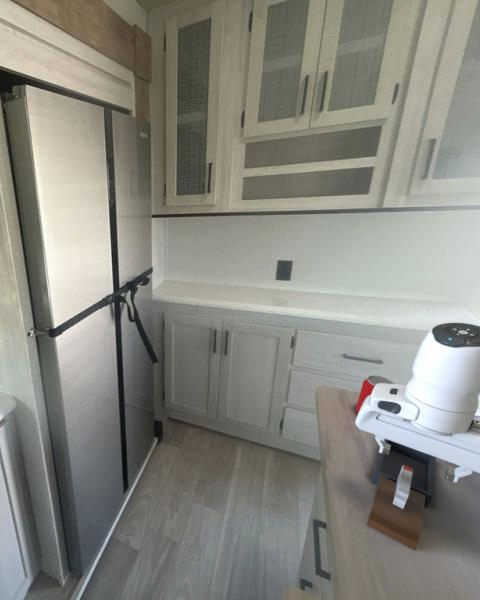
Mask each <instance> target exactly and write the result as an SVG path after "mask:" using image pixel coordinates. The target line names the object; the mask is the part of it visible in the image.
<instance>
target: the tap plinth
mask: <svg viewBox="0 0 480 600" xmlns="http://www.w3.org/2000/svg"><path fill="white" fill-rule="evenodd" d="M396 485H397V483H396V482H394V481H391V480H389V479H387V478H385V477H382V476H380V478H379V481H378V484H377V485H376V487H375V490H374V494H373V498H372V502H371V506H370V508H369V509H370V510H369V512H368V513H369V514H368V518H367V521H366V525H367V526H369V527H370V528H372V529H374V530H376V531H378V532H380V533H381V534H384V535H386V536H387V537H389V538H392V539H393V540H395V541H397V542H398V543H401V544H402V545H404V546H406V547H408V548H409V549H412V550H414V551H415V550H416V548H417V545H418V543H419V541H420V538H421V535H422V526H423V518H424V510H425V507H424V502H425V495H423V494H421V493H419V492H416V491H414V490H412V489H410V492H409V496H408V499H407V501H406V504H405V506H404V509H402V508H400V507H398V506H396V505H394V504H393V500H394V495H395V490H396Z"/></svg>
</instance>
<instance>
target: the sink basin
mask: <svg viewBox="0 0 480 600" xmlns="http://www.w3.org/2000/svg"><path fill="white" fill-rule="evenodd" d="M385 442H386V443H387V444H389V445H391V447H390V451H389V455H388V456H387V455H384V454H382V453H379V452H378V457H377V460H376V464H375V466H374V467H375V468H374V471H373V475H372V478H371V482H370V483H371V484H373V485H375V486H377V484H378V481H379V478H380V476H382V477H385V478H387V479H389V480H391V481H394V482H396V483H397V480H398V477H399V474H400V471H401V468H402V466H403V465H406V466H408V467H411V468H413V474H412V480H411V486H410V489H412V490H414V491H416V492H419V493H421V494H423V495H425V502H424V509H425V508H426V509H428V507H429V506H430V502H431V501H432V497H433V495H434V494H433V493H434V482H435V474H436V464H437V463H436V462H437V457H434V456H431V455H429V454H426V453H423V452H420V451H418V450H415V449H412V448H410V447H407V446H404V445H401V444H399V443H396V442H393V441H390V440H388V439H385Z"/></svg>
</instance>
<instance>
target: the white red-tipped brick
mask: <svg viewBox="0 0 480 600" xmlns="http://www.w3.org/2000/svg"><path fill="white" fill-rule="evenodd" d="M412 474H413V468H411V467H408V466H406V465H403V466H402V468H401V471H400V474H399V477H398V480H397V485H396V490H395V495H394V500H393V504H394V505H396V506H398V507H400V508H402V509H404V506H405V504H406V501H407V499H408V496H409V492H410V486H411V480H412Z"/></svg>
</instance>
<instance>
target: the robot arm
mask: <svg viewBox="0 0 480 600" xmlns="http://www.w3.org/2000/svg"><path fill="white" fill-rule="evenodd" d="M411 371H412V377H411V379H410V380H409V381H408V382H407V383H406V384H401V383H394V384H387V383H378V384H376V386H375V387H374V389H373V390H372V393H371V395H369V396H368V397H367V398H366V399H365V401H364V402H363V404H362V406H361V408H360V411H359V413H358V414H357V416H356V419H355V422H354V423H355V425H356V427H357V428H358V429H359V430H361V431H364V432H366V433H368V434H371V435H374V436H375V441H376V443H377V445H378V446H379V451H378V454H379V453H382V454H384V455H387V456H388V455H389V451H390V447H391V445H389V444H387V443H386V442H385V439H388V440H390V441H393V442H396V443H399V444H401V445H404V446H407V447H410V448H412V449H415V450H418V451H420V452H423V453H426V454H429V455H431V456H434V457H436V459H440V460H442V461H445V462H447V463H450V464H453V465H455V466H456V465H457V466H458V467H454V468H453V467H452V466H451V467H450V466H447V468H446V471H445V474H444V475H445V476H444V477H445V479H446V480H448V481H451V482H453V483H455V484H457V483H458V481H459V479H460V478H464V477H467V476H470V475H473V473H474V472H475V473H477V474H480V420H475V416H476V413H477V411H478V409H479V406H480V401H479V396H480V325H476V324H473V323H472V324H471V323H465V322H445V323H440V324H437V325H434V326H433V327H432V328H431V329H430V330H429V331H428V332H427V333H426V335H425V337H424V338H423V340H422V342H421V343H420V346H419V348H418V350H417V352H416V355H415V357H414V359H413V364H412V367H411Z"/></svg>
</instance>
